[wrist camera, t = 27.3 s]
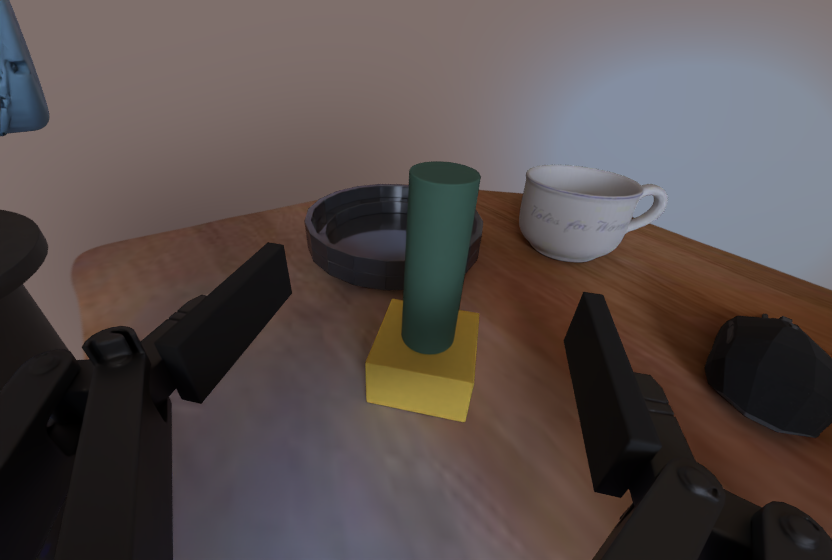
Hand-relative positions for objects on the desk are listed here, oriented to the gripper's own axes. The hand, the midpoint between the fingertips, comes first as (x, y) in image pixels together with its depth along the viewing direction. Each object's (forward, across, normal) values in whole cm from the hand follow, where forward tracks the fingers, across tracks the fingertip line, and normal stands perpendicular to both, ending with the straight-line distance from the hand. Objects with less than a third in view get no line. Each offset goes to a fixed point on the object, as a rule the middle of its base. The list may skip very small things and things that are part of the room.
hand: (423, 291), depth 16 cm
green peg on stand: (+3, 0, -9) cm, 10 cm away
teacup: (+24, +13, -9) cm, 29 cm away
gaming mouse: (+10, +24, -9) cm, 28 cm away
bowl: (+19, -6, -9) cm, 22 cm away
